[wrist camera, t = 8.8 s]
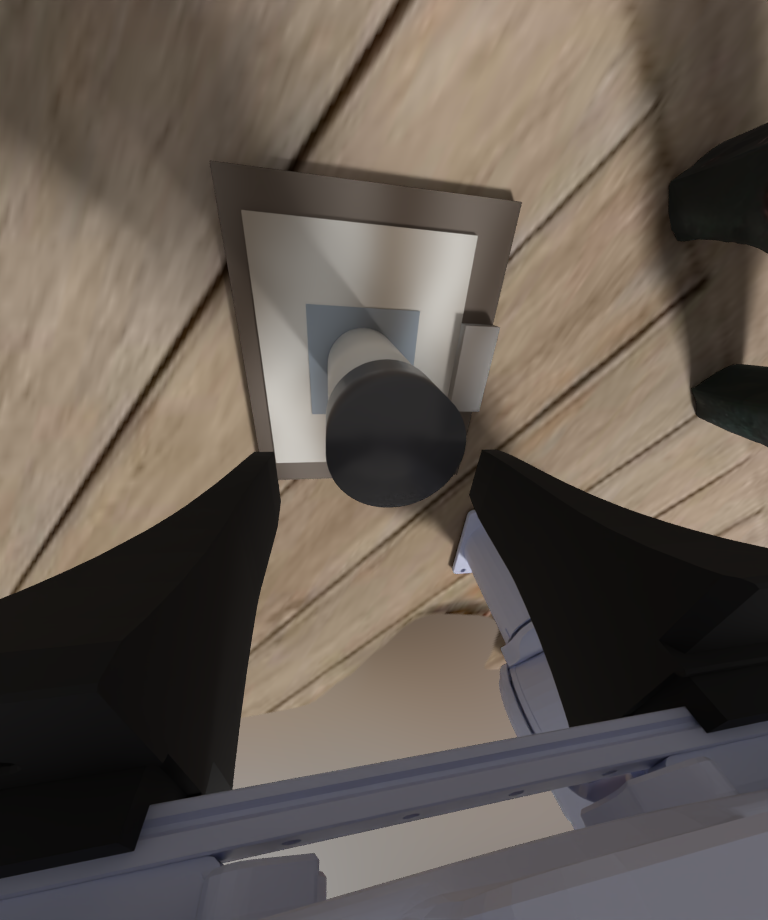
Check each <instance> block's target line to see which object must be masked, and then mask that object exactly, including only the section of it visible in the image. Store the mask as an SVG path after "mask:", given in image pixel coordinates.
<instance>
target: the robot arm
mask: <svg viewBox="0 0 768 920" xmlns="http://www.w3.org/2000/svg"><path fill="white" fill-rule="evenodd" d="M469 496H470V498H471V501H472V504H473V506H474V509H475V510H471V511H470V512H469V513H468V514H467V518H466V521H465V525H464V528H463V532H462V535H461V539H460V542H459V546H458V549H457V553H456V557H455V560H454V564H453V567H452V570H453V573H455V574H461V573H473V575H474V577H475V579H476V581H477V584H478V586H479V588H480V590H481V592H482V594H483V596H484V598H485V600H486V603H487V605H488V607H489V609H490V611H491V613H492V615H493V617H494V620H495V622H496V624H497V626H498V628H499V630H500V632H501V634H502V636H503V639H504V641H505V643H506V645H505V646H503V647H501V651H502V653H503V655H504V658H505V660H506V662H507V663H506V664H504V665H502V666H501V669H500V680H499V687H500V693H501V697H502V701H503V704H504V707H505V710H506V712H507V715H508V717H509V720H510V722H511V724H512V727H513V729H514V731H515V733H516V735H517V737H516V738H511V739H505V740H500V741H494V742H489V743H483V744H478V745H473V746H467V747H462V748H456V749H451V750H445V751H440V752H435V753H430V754H424V755H418V756H413V757H407V758H402V759H397V760H392V761H386V762H380V763H376V764H370V765H364V766H359V767H354V768H348V769H343V770H337V771H332V772H326V773H321V774H315V775H310V776H304V777H299V778H294V779H288V780H283V781H277V782H272V783H267V784H261V785H256V786H251V787H245V788H239V789H235V790H232V787H233V778H234V769H235V761H236V753H237V744H238V736H239V727H240V719H241V711H242V704H243V696H244V689H245V682H246V674H247V667H248V661H249V654H250V647H251V641H252V634H253V628H254V622H255V616H256V610H257V604H258V599H259V595H260V590H261V587H262V583H263V579H264V576H265V572H266V568H267V565H268V561H269V557H270V554H271V550H272V546H273V542H274V539H275V535H276V531H277V527H278V520H279V512H280V504H281V499H280V492H279V484H278V476H277V469H276V461H275V453H274V452H254V453H252V454H251V455H250V456H249V457H247V458H246V459H245V460H244V461H243V462H241V463H240V464H239V465H238V466H237V467H236V468H234V469H233V470H232V471H231V472H230V473H228V474H227V475H226V476H225V477H224V478H222V479H221V480H220V481H219V482H217V483H216V484H215V485H214V486H212V487H211V488H210V489H208V490H207V491H205V492H204V493H203V494H201V495H200V496H199V497H197V498H196V499H195V500H193V501H192V502H191V503H189V504H188V505H186V506H185V507H183V508H182V509H180V510H179V511H177V512H176V513H174V514H173V515H171V516H170V517H168V518H166V519H165V520H163V521H161V522H160V523H158V524H156V525H155V526H153V527H151V528H150V529H148V530H146V531H145V532H143V533H141V534H139V535H137V536H135V537H133V538H131V539H129V540H128V541H126V542H124V543H122V544H120V545H118V546H116V547H114V548H113V549H111V550H109V551H107V552H105V553H103V554H101V555H99V556H97V557H95V558H93V559H91V560H89V561H87V562H84V563H82V564H80V565H78V566H76V567H74V568H72V569H70V570H67V571H65V572H63V573H61V574H58V575H56V576H54V577H52V578H49V579H47V580H45V581H43V582H40V583H38V584H36V585H33V586H31V587H29V588H26V589H24V590H22V591H19V592H17V593H14V594H12V595H9V596H7V597H4V598H2V599H0V920H768V548H765V547H760V546H756V545H751V544H747V543H742V542H738V541H733V540H729V539H725V538H721V537H717V536H714V535H710V534H706V533H703V532H699V531H695V530H691V529H688V528H684V527H681V526H678V525H674V524H671V523H668V522H664V521H661V520H658V519H655V518H652V517H649V516H646V515H643V514H640V513H637V512H634V511H632V510H629V509H626V508H623V507H621V506H618V505H616V504H613V503H611V502H608V501H606V500H603V499H601V498H598V497H596V496H593V495H591V494H589V493H586V492H584V491H582V490H580V489H578V488H576V487H574V486H571V485H569V484H567V483H565V482H563V481H561V480H559V479H557V478H555V477H553V476H551V475H549V474H547V473H545V472H543V471H541V470H539V469H537V468H535V467H533V466H531V465H529V464H527V463H526V462H524V461H522V460H520V459H518V458H516V457H513V456H511V455H509V454H507V453H505V452H502V451H499V450H482V451H481V455H480V458H479V462H478V465H477V469H476V472H475V476H474V479H473V483H472V487H471V490H470V494H469ZM546 791H552V793H553V795H554V797H555V799H556V800H557V802H558V804H559V806H560V808H561V810H562V812H563V813H564V815H565V817H566V818H567V819H568V820H569V821H570V822H571V824H572V826H573V827H574V830H572V831H568V832H564V833H561V834H557V835H553V836H549V837H546V838H542V839H538V840H534V841H530V842H527V843H523V844H519V845H515V846H512V847H508V848H504V849H501V850H497V851H494V852H490V853H487V854H483V855H480V856H476V857H472V858H469V859H466V860H462V861H458V862H455V863H451V864H448V865H444V866H441V867H438V868H434V869H430V870H427V871H423V872H420V873H417V874H413V875H410V876H406V877H403V878H399V879H396V880H393V881H389V882H386V883H382V884H379V885H375V886H372V887H368V888H365V889H361V890H358V891H355V892H351V893H348V894H344V895H341V896H337V897H334V898H330V899H327V900H326V876H325V875H324V873H323V872H321V871H319V859H318V858H317V856H316V855H315V853H310V854H301V855H292V856H282V857H272V858H262V859H253V860H246V861H239V862H235V863H231V864H227V865H223V864H222V863H225V862H230V861H234V860H239V859H243V858H248V857H252V856H257V855H261V854H266V853H271V852H275V851H280V850H284V849H289V848H293V847H297V846H302V845H307V844H311V843H315V842H320V841H325V840H329V839H334V838H338V837H343V836H347V835H352V834H356V833H361V832H365V831H370V830H374V829H379V828H383V827H388V826H392V825H397V824H402V823H406V822H411V821H415V820H419V819H424V818H429V817H433V816H437V815H442V814H447V813H451V812H456V811H460V810H465V809H469V808H474V807H478V806H483V805H487V804H492V803H496V802H500V801H505V800H510V799H514V798H519V797H523V796H528V795H532V794H537V793H541V792H546Z"/></svg>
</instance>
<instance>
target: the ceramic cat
mask: <svg viewBox="0 0 768 920" xmlns="http://www.w3.org/2000/svg"><path fill="white" fill-rule="evenodd" d="M669 218H670V223H671V229H672V231H673V232H674V234H675V237H676V239H677V240H678V241H690V240H697V239H704V240H719V241H723V242H735V243H739V244H747V245H750V246H754V247H757V248H759V249H761V250H763V251H764V252H766V253H767V254H768V123H766V124H764V125H762V126H759V127H757V128H755V129H752V130H750V131H748V132H746V133H743V134H741V135H739V136H736V137H734V138H732V139H729V140H727V141H725V142H723V143H721V144H719V145H718V146H716V147H715V148H714V149H712V150H711V151H710V152H708V153H707V154H706V155H704V156H703V157H702V158H701V159H700V160H699V161H697V162H696V163H695V164H694V165H693V166H692V167H691V168H690V169H688V170H686V171H685V172H683V173H682V174H681V175H679V176H678V177H676V178H675V179H674V180H672V181H671V183H670V185H669ZM691 389H692V392H693V395H694V397H695V399H696V405H697V408H696V415H697V416H698V417H699V418H701V419H703V420H705V421H708V422H710V423H712V424H714V425H716V426H718V427H720V428H723V429H725V430H727V431H729V432H732V433H734V434H737V435H740V436H742V437H744V438H747V439H749V440H752V441H755V442H758V443H761V444H763V445H765V446H767V447H768V367H764V366H754V365H744V364H736V365H732V366H729V367H727V368H725V369H723V370H721V371H719V372H717V373H716V374H714V375H713V376H711V377H710V378H708V379H707V380H705V381H704V382H702V383H701V384H700V385H698V386H697V387H695V388H691Z"/></svg>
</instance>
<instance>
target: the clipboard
mask: <svg viewBox="0 0 768 920" xmlns="http://www.w3.org/2000/svg"><path fill="white" fill-rule="evenodd" d="M210 166H211V172H212V178H213V184H214V189H215V195H216V201H217V207H218V213H219V219H220V225H221V231H222V236H223V242H224V248H225V254H226V260H227V266H228V272H229V278H230V283H231V289H232V295H233V301H234V307H235V313H236V319H237V325H238V331H239V336H240V342H241V348H242V354H243V360H244V366H245V372H246V378H247V383H248V389H249V395H250V401H251V407H252V413H253V419H254V425H255V430H256V436H257V442H258V448H259V452H274V453H275V461H276V469H277V476H278V480H289V479H322V478H332V476H331V474H330V472H329V470H328V466H327V462H326V408H327V403H328V356H329V352H330V349H331V347H332V345H333V344H334V342H335V341H336V340H337V339H338V338H339V337H340V336H341V335H342V334H344V333H345V332H347V331H349V330H352V329H356V328H369V329H373V330H375V331H378V332H380V333H381V334H383V335H384V336H385V337H386V338H387V339H388V340H389V341H390V342H391V343H392V344H393V345H394V346H395V347H396V348H397V349H398V350H399V352H400V353H401V354H402V355H403V356H404V357H405V358H406V359H407V360H408V361H409V362H410V363H411V364H412V365H413V366H414V367H416V368H418V369H419V370H420V371H422V372H423V373H424V374H425V375H426V376H427V377H428V378H429V379H430V380H431V381H432V382H433V383H434V384H435V385H436V386H437V387H438V388H439V389H440V390H441V391H442V392H443V393H444V394H445V395H446V396H447V397H448V398H449V399H450V400H451V401H452V403H453V404H454V405H455V406H456V408H457V409H458V411H459V412H460V414H461V416H462V419H463V421H464V425H465V430H466V435H467V431H468V427H469V423H470V418H471V414H472V412H479V410H480V406H481V402H482V398H483V394H484V390H485V386H486V382H487V378H488V374H489V370H490V366H491V362H492V358H493V354H494V350H495V346H496V342H497V338H498V334H499V330H500V327H497V326H494V325H493V322H494V318H495V313H496V309H497V305H498V301H499V297H500V292H501V288H502V284H503V280H504V276H505V271H506V267H507V263H508V259H509V255H510V250H511V246H512V242H513V238H514V234H515V229H516V225H517V221H518V217H519V213H520V208H521V204H522V202H518V201H510V200H503V199H495V198H488V197H480V196H472V195H465V194H457V193H450V192H442V191H435V190H427V189H420V188H412V187H405V186H397V185H390V184H382V183H375V182H367V181H359V180H352V179H344V178H337V177H329V176H322V175H314V174H307V173H299V172H292V171H284V170H277V169H269V168H262V167H254V166H246V165H239V164H231V163H224V162H216V161H210ZM458 469H459V467H458V468H457V470H456V472H455V473H454V474H457V473H458Z"/></svg>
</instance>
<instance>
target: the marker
mask: <svg viewBox="0 0 768 920" xmlns="http://www.w3.org/2000/svg"><path fill="white" fill-rule="evenodd" d="M465 446H466V430H465V425H464V421H463V419H462V416H461V414H460V412H459V411H458V409H457V408H456V406H455V405H454V404H453V403H452V401H451V400H450V399H449V398H448V397H447V396H446V395H445V394H444V393H443V392H442V391H441V390H440V389H439V388H438V387H437V386H436V385H435V384H434V383H433V382H432V381H431V380H430V379H429V378H428V377H427V376H426V375H425V374H424V373H423V372H422V371H420V370H419V369H418V368H416V367H414V366H413V365H412V364H411V363H410V362H409V361H408V360H407V359H406V358H405V357H404V356H403V355H402V354H401V353H400V352H399V350H398V349H397V348H396V347H395V346H394V345H393V344H392V343H391V342H390V341H389V340H388V339H387V338H386V337H385V336H384V335H383V334H381V333H380V332H378V331H375V330H373V329H369V328H356V329H352V330H349V331H347V332H345V333H344V334H342V335H341V336H340V337H339V338H338V339H337V340H336V341H335V342H334V344H333V345H332V347H331V349H330V352H329V356H328V403H327V408H326V462H327V466H328V470H329V472H330V474H331V476H332V478H333V480H334V481H335V483H336V484H337V485H338V486H339V488H340V489H341V490H342V491H343V492H345V493H346V494H347V495H348V496H350V497H351V498H353V499H355V500H357V501H359V502H361V503H364V504H367V505H371V506H376V507H400V506H405V505H409V504H413V503H416V502H418V501H421V500H423V499H425V498H427V497H429V496H430V495H432V494H433V493H435V492H436V491H438V490H439V489H440V488H441V487H443V486H444V485H445V484H446V483H447V482H448V481H449V480H450V478H451V477H452V476H453V475H454V473H455V472H456V470H457V468H458V467H459V465H460V462H461V460H462V458H463V455H464V451H465Z"/></svg>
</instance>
